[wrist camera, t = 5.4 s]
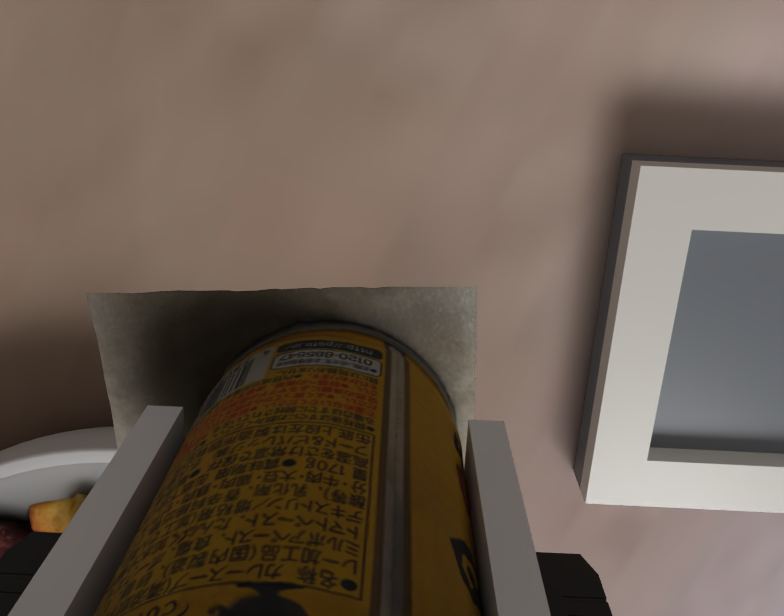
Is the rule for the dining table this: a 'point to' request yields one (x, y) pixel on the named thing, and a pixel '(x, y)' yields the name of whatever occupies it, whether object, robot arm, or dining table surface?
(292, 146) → the dining table surface
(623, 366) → the pocket plate
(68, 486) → the bowl
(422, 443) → the condiment
